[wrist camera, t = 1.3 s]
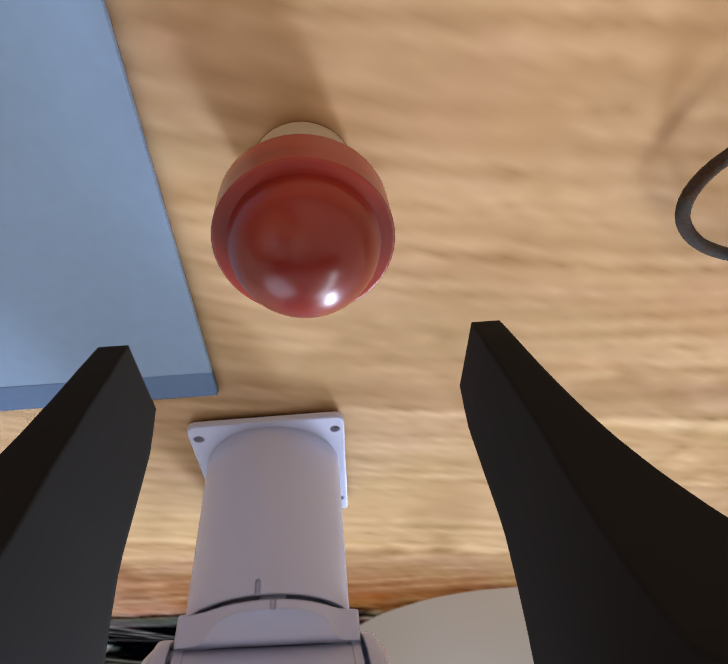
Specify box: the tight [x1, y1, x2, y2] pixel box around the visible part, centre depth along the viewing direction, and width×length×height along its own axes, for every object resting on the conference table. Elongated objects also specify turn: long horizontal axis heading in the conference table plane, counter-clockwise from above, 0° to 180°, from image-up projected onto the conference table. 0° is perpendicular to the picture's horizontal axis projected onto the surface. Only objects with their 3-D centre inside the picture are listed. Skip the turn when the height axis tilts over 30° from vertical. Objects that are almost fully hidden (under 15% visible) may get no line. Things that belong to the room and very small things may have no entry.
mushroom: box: [211, 122, 395, 318], centre depth 16 cm, size 5×5×7 cm
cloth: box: [0, 0, 218, 411], centre depth 18 cm, size 20×11×1 cm, turn 0°
